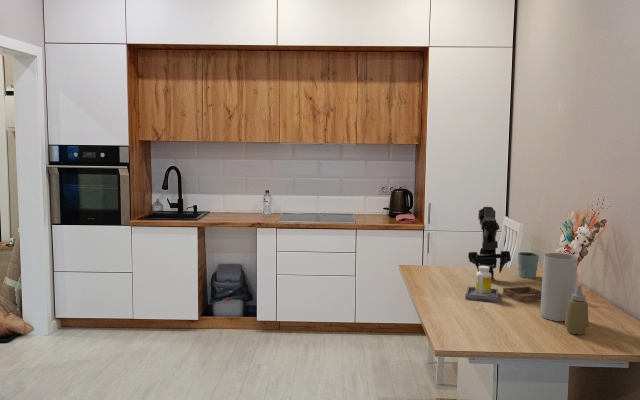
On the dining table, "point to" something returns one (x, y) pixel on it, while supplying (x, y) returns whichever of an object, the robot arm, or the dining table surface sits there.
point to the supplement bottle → (483, 281)
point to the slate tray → (472, 295)
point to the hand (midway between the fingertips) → (489, 272)
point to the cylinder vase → (557, 285)
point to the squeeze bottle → (577, 313)
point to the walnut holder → (513, 291)
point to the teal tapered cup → (527, 264)
